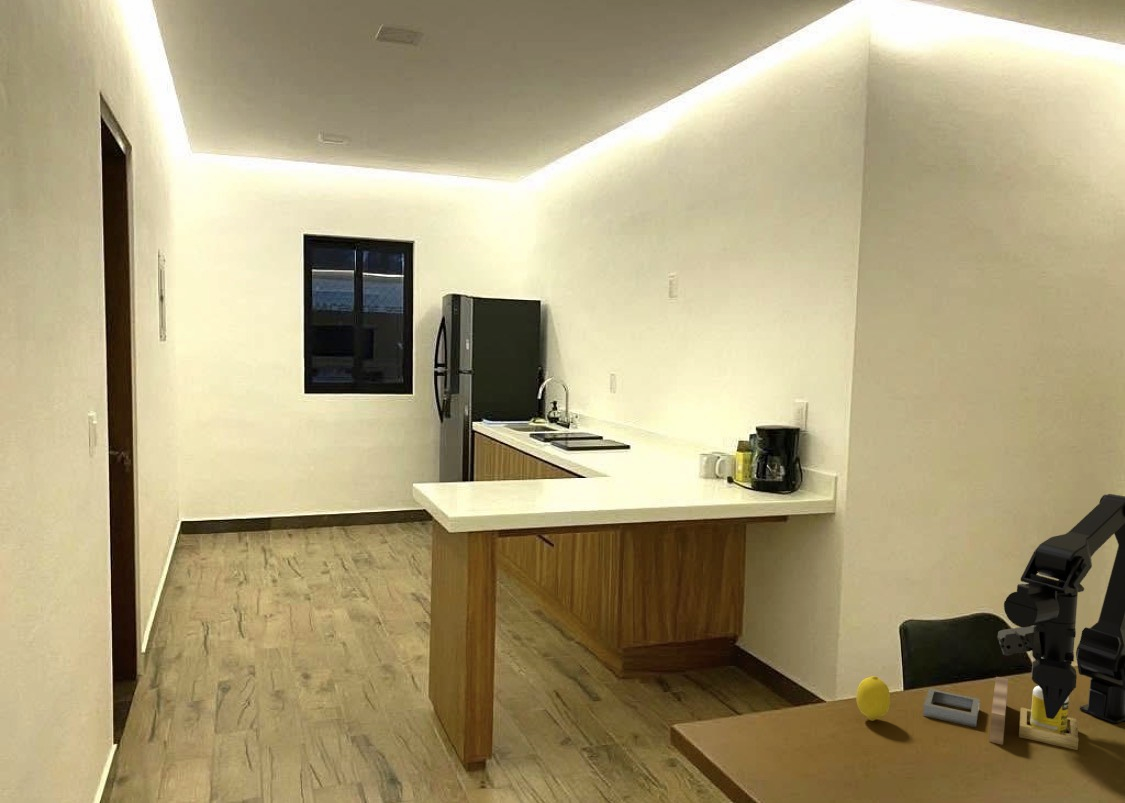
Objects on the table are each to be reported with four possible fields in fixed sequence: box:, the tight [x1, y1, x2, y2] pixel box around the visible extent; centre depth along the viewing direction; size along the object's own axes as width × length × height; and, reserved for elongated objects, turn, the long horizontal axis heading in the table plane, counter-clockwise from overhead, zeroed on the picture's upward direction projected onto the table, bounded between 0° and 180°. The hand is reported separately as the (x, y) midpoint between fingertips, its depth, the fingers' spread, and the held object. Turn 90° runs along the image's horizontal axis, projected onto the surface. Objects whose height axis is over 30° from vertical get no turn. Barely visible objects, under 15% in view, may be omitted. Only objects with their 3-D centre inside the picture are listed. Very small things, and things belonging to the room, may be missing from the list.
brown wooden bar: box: [989, 676, 1009, 746], centre depth 149 cm, size 18×2×5 cm, turn 151°
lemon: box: [855, 675, 891, 722], centre depth 148 cm, size 6×6×8 cm
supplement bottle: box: [1029, 685, 1070, 733], centre depth 145 cm, size 5×5×10 cm
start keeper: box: [922, 688, 981, 728], centre depth 152 cm, size 8×8×2 cm
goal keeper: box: [1018, 707, 1079, 751], centre depth 145 cm, size 8×8×2 cm
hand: (1049, 707), depth 145 cm, fingers open, 9 cm apart
